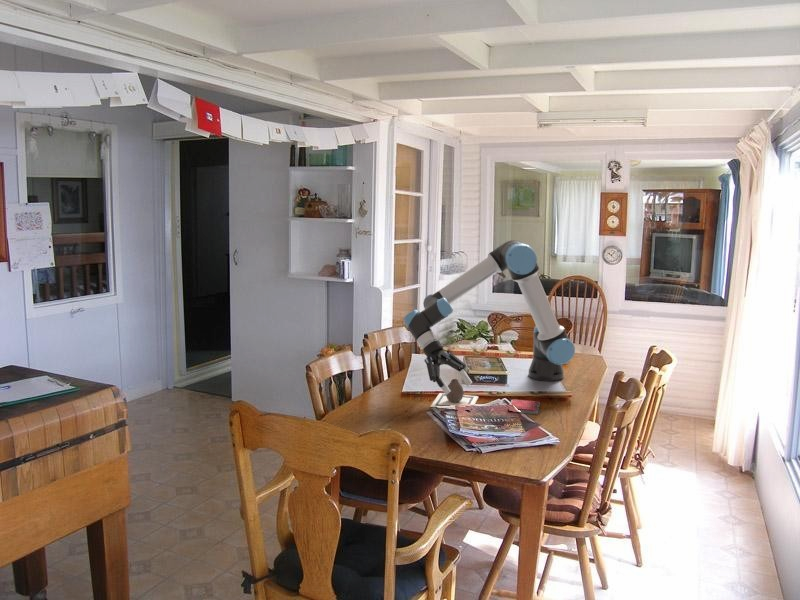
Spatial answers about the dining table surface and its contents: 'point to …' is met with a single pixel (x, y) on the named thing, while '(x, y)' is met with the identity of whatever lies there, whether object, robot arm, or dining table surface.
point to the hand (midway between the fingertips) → (459, 388)
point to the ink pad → (526, 406)
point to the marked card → (443, 401)
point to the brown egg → (455, 391)
